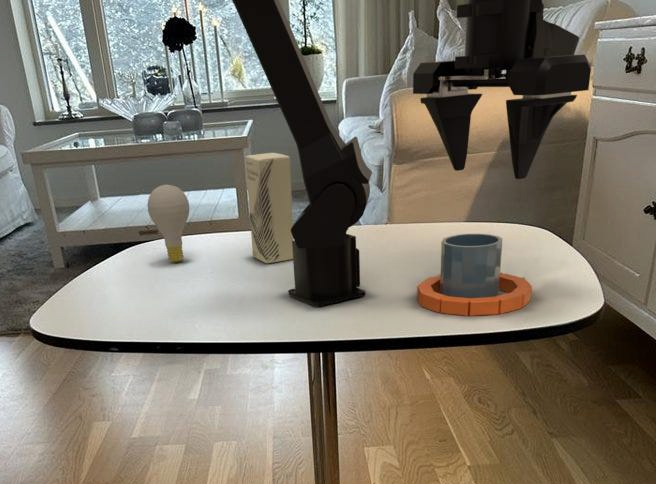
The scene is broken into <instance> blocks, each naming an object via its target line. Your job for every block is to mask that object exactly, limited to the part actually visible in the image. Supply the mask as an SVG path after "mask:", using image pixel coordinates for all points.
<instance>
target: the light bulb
mask: <svg viewBox="0 0 656 484" xmlns="http://www.w3.org/2000/svg"><path fill="white" fill-rule="evenodd" d="M146 207H147V213H148V215H149V217H150V219H151V221H152V222H153V224H154V225H155V226H156V228H157V229H158V230H159V232H160V233H161V235H162V237H163V239H164V244H165V248H166V252H167V258H168V260H169V261H171V262H173V263H175V264H178V263H179V262H180V261H181V260H182V261H183V259H184V258H185V256H184V252H183V251H184V250H183V240H182V238H183V232H184V230H185V229H184V228H185V227H186V223H187V222H188V218H189V215H190V202H189V200H188V197H187V195H186V194H185V192H184V191H183V190H182V189H181V188H180V187H178V186H176V185H172V184H162V185H160V186H157V187H156V188H154V189H153V190H152V191H151V193H150V194H149V196H148V199H147V206H146Z"/></svg>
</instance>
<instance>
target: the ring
mask: <svg viewBox="0 0 656 484" xmlns="http://www.w3.org/2000/svg"><path fill="white" fill-rule="evenodd" d="M440 276H441V274H439V275H435V276H430V277H428V278H426V279H425V280H423V281H421V282H420V283H419V284H418V285H417V287H416V288H417V289H416V291H417V292H416V299H417V301H418V304H419V306H420V307H422V308H425V309H427V310H429V311H433V312H436V313H440V314H446V315H457V316H466V317H468V316H470V317H477V316H491V315H492V316H493V315H499V314H500V315H502V314H507V313H509V312H513V311H517V310H520V309H523V308H524V307H526V306H527V304H528V303H529V302H530V301H531V300H532V292H533V285H532V284H531V283H530V282H529V281H528V280H527V279H526V278H523V277H521V276H517V275H513V274H509V273H506V272H505V273H503V272H500V281H499V291H502V292H506V293H504V294H500V295H499V294H498V296H495V297H484V298H461V297H450V296H446V295H443V294H440Z"/></svg>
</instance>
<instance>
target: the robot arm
mask: <svg viewBox="0 0 656 484" xmlns="http://www.w3.org/2000/svg"><path fill="white" fill-rule="evenodd" d="M231 1H232V3H233V6H234V7H235V8H234V9H235V10H236V12H237V14H238V17H239V19H240V21H241V23H242V25H243V28H244V31H245V32H246V35H247V36H248V40H249V41H250V43H251V45H252V48H253V50H254V53H255V55H256V57H257V59H258V61H259V64H260V66H261V68H262V70H263V72H264V74H265V75H264V76H265V77H266V79H267V82H268V84H269V86H270V88H271V90H272V92H273V95H274V97H275V99H276V102H277V105H278V106H279V108H280V110H281V113H282V115H283V117H284V120H285V122H286V124H287V126H288V129H289V131H290V133H291V135H292V138H293V139H294V142H295V144H296V148H297V152H298V157H299V163H300V168H301V174H302V179H303V184H304V187H305V191H306V194H307V199H308V205H307V206H306V207H305V208H304V209H303V211H302V212H301V213H300V215H298V217H297V219H296V220H295V222H293V226H292V228H291V233H292V236H293V238H294V241H292V250H293V259H292V264H293V265H292V266H293V281H294V288H291V289H288V296H291V297H293V298H296V299H298V300H299V301H303V302H305V303H307V304H309V305H311V306H313V307H321V306H326V305H329V304H334V303H338V302H342V301H347V300H350V299H351V300H352V299H355V298H360V297H364V296H366V290H364V289H362V288H359V287H360V286H361V264H360V263H361V262H360V261H361V260H360V249H359V248H357V236H356V235H353V234H349V233H347V232H348V230H349V228H351V227H353V226H354V225H356V224H357V223H358V222H359V221H360V219H361V218H362V217H363V216H364V214H365V211H366V208H367V205H368V202H369V200H370V199H369V198H370V194H371V184H370V180H371V178H372V175H373V170H372V169H371V168H369V167H368V166H367V164H366V162H365V160H364V158H363V155H362V150H361V146H360V142H359V138H358V137H357V136H354V137H352V138H351V139H349V141H347V142H345V141H344V140H343V138H342V137H341V136H340V133H338V131H337V130H336V129H335V126H334V125H333V124H332V121H331V119H330V117H329V115H328V114H329V113H328V112H327V110H326V108H325V105H324V102H323V101H322V98H321V96H320V93H319V91H318V88H317V85H316V84H315V81H314V79H313V76H312V74H311V72H310V70H309V67H308V65H307V62H306V60H305V58H304V55H303V54H302V51H301V48H300V46H299V44H298V41H297V39H296V36H295V34H294V32H293V30H292V27H291V25H290V22H289V20H288V17H287V15H286V13H285V11H284V9H283V6H282V4H281V3H282V2H281V1H280V0H231ZM544 8H545V5H544V3H543V0H466V3H464V4H458V5H456V19H465V18H466V19H465V43H464V55H459V56H457V55H456V56H455V57H454V59H451V60H439V61H428V62H427V61H426V62H420V64H419V65H418V66H417V68H416V69H415V70H414V71H413V74H412V75H413V76H412V94H413V95H426V97H420V98H419V99H420V104H423V105H425V107H426V109H427V111H428V113H429V116H430V118H431V120H432V121H433V124H434V125H435V128H436V130H437V132H438V133H439V134H438V135H439V137H440V139H441V141H442V144H443V146H444V148H445V151H446V154H447V156H448V159H449V161H450V163H451V166H452V168H453V171H455V172H459V171H463V170H465V167H466V163H467V157H468V148H469V138H470V128H471V119H472V113H473V112H474V109H475V107H476V106H477V104H478V103H479V101H480V99H481V98H482V97H483V93H469V90H471V91H472V90H477V89H478V88H509V89H510V92H511V93H512V94H513V96H522V97H521V98H511V99H505V108H506V118H507V125H508V126H507V127H508V136H509V145H510V156H511V166H512V169H513V176H514V179H515V180H523V179H526V178H527V176H528V174H529V172H530V169H531V167H532V165H533V162H534V160H535V157H536V155H537V153H538V151H539V148H540V145H541V143H542V140H543V138H544V136H545V134H546V132H547V129H548V128H549V125H550V124H551V122H552V120H553V118H554V117H555V115H556V114H557V113H559V112H560V110H562V109H563V108H564V107H565V106H566V104H568V103H573V102H575V100H576V99H577V97H578V94H572V93H575V92H576V93H577V92H586V91H589V89H590V80H591V72H592V65H591V64H590V61H589V60H588V57H587V56H586V54H576V51H577V47H578V44H579V42H580V37H579V36H578V35H576V34H574V33H573V32H571V31H569V30H567V29H565V28H563V27H562V26H560V25H558V24H555V23H553V22H549V21H547V20H545V19H544V10H545V9H544ZM486 70H487V71H488V72H487V74H485V71H486ZM502 71H505V73H504V72H503V73H502Z"/></svg>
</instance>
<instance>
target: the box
mask: <svg viewBox="0 0 656 484" xmlns="http://www.w3.org/2000/svg"><path fill="white" fill-rule="evenodd" d="M244 158H245V169H246V170H245V171H246V182H247V195H248V209H249V210H248V211H249V221H250V223H249V224H250V234H251V235H250V236H251V247H252V248H251V249H252V256H253V257H254V258H255V259H256V260H258V261H261V262H262V263H264V264H272V263H279V262H285V261H286V262H287V261H291V260H293V250H292V241H294V238H293V236H292V233H291V228H292V226H293V225H294V215H293V197H292V195H293V194H292V173H291V171H292V170H291V157H290V156H289V155H285V154H284V153H283V154H282V153H277V152H267V153H257V154H249V155H245V157H244Z"/></svg>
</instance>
